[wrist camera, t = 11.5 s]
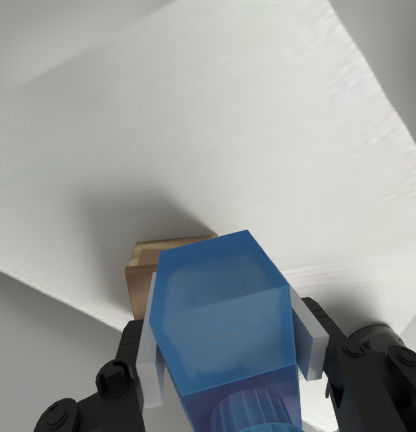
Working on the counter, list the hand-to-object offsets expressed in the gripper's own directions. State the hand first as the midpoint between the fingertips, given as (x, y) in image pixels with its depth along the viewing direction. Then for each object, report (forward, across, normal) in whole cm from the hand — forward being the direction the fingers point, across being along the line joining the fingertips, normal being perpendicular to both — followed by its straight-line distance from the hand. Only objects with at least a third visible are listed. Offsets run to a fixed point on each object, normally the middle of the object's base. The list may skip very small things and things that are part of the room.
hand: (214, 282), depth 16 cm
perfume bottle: (+1, 0, 0) cm, 1 cm away
